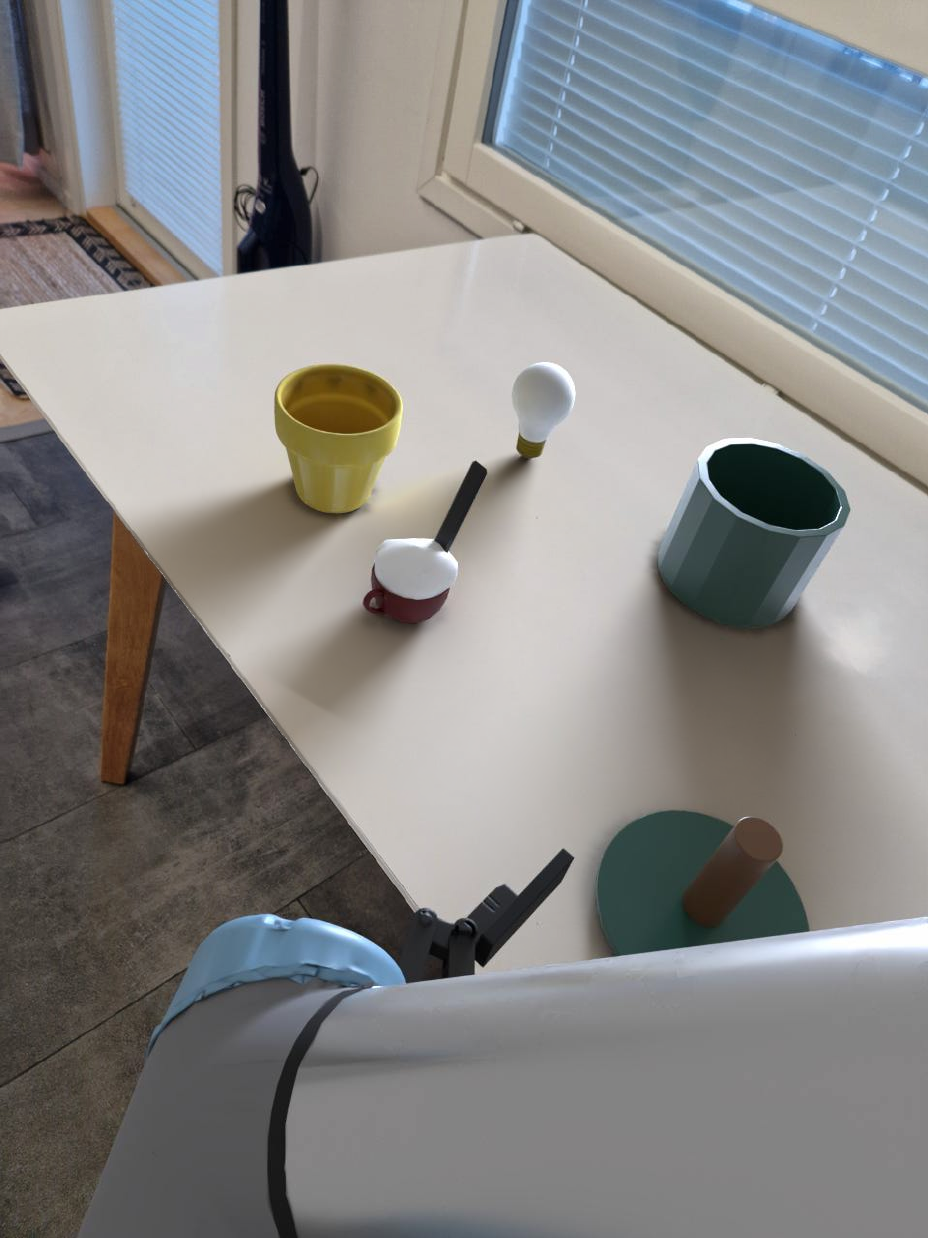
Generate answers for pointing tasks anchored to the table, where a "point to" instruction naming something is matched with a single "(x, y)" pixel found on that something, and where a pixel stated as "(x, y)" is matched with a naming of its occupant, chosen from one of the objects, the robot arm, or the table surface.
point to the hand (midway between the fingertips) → (669, 957)
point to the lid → (694, 884)
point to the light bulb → (540, 405)
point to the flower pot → (336, 432)
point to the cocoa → (421, 563)
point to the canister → (750, 531)
